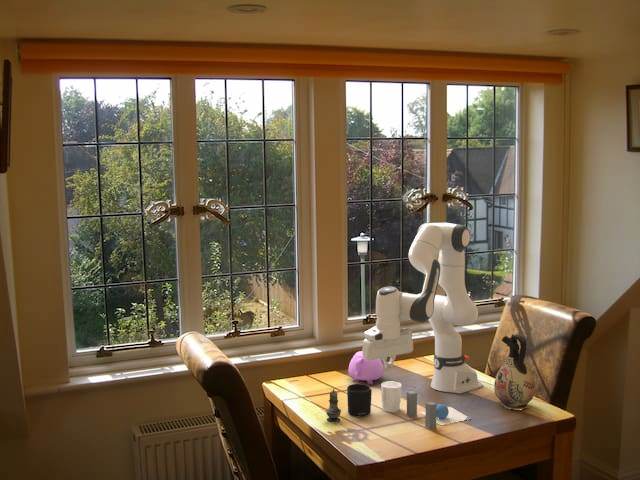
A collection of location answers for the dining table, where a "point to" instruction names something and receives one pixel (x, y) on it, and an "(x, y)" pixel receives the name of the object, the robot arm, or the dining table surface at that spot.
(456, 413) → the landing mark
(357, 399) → the pen holder
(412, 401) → the post
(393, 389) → the white cup
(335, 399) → the grey chess piece
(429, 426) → the post
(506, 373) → the ceramic jug
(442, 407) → the ball
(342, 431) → the dining table surface
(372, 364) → the teapot
